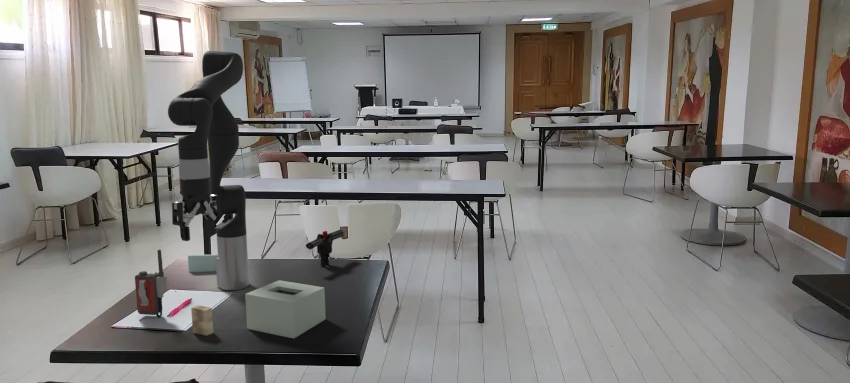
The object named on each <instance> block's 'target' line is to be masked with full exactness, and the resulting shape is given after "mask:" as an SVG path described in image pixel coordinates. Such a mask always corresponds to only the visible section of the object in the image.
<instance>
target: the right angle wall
mask: <svg viewBox="0 0 850 383" xmlns="http://www.w3.org/2000/svg"><path fill="white" fill-rule="evenodd" d="M216 258H218V254H188V255H187V261H188V262H187V263H188V264H187V265H188V273H201V272H203V273H204V272H216Z"/></svg>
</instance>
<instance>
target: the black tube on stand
mask: <svg viewBox="0 0 850 383" xmlns="http://www.w3.org/2000/svg"><path fill="white" fill-rule="evenodd" d="M342 237H344V232H343V231H342V230H341V229H338V230H336V231H332V232H330V233H328V231H327V230H325V231H322V233H317V236H316V239H314V240H312V241H310V242H308V243H306V244H305V248H306V249H308V250H312V249H315V248H316V253H317V254H319V259H320V267H321V268H326V266H329V265H330V260H329V259H330V254H331V253H332V252H333V242H334V241H335V240H337V239H339V238H342Z"/></svg>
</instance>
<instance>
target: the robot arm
mask: <svg viewBox="0 0 850 383" xmlns="http://www.w3.org/2000/svg"><path fill="white" fill-rule="evenodd" d="M201 62H202V64H201V65H202V66H201V68H202V78H200V79H198V80H197V81H196V82H195V83H194V84H193V85H192V87H191V88H190V90H187V91H184V92H182V93H181V94H178V95H177V96H175V97H174V98H173V99H172V100H171V101H170V103H169V105H168V108H167V116H168V119H169V120H170V121H171V123H173V124H174V125H176V126H179V127H188V126H189V127H190V126H191V127H193V126H194V127H195V130H194V132H193V133H190V134H186V135H183V136H180V137H179V138H178V140H177V144H178V145H177V147H178V175H179V176H178V177H179V178H178V179H179V193H180V194H181V196H182V200H181V201H173V202H172V203H171V210H172V213H171V214H172V215H171V217H172V218H171V219H172V220H171V221H172V222H171V224H172V225H173V226H177V227H179V233H180V239H181V241H183V242H189V241H191V233H190V230H191V229H190V223H191V221H192V220H193V219H194V218H195V217H196V216H199V215H203V216H204V218H205V219H206V220H205V226H206V227H205V228H206V234H207V235H214V234H216V245H217V246H216V247H217V255H218V258H216V271H215V272H216V284H217V285H216V286H217V287H218V288H219V289H222V290H224V291H236V290H242V289H245V288H247V287H248V286H249V285H250V279H249V278H250V276H249V258H248V256H249V255H248V239H247V238H248V236H247V221H246V219H247V218H246V203H247V202H246V201H247V200H246V196H247V195H246V189H245V188H244V186H243V185H242V184H229V185H221V183H222V182H221V181H222V179H223V176H224V174H225V171H226V169H227V168H228V166H229V164H230V163H231V162H232V160H233V158H234V157H235V155H236V154H237V152H238V150H239V146H240V132H239V124H238V122H237V119H236V118H235V116H234V115H233V113H232V112H231V110H230V109H229V108H228V107H227V105H226V103H225V101H224V100H223V98H222V95H223V94H224V93H225V92H227V91H228V90H230V89H232V88H233V87H234V86H235V85H237V84H238V83H239V82H240V80H241V79H242V77H243V74H244V62H243V58H242V56H241V55H240V54H239V53H236V52H233V51H221V50H220V51H217V50H207V51H205V52H204V54H203V56H202V61H201ZM222 215H234V216H233V217H232V218H231V219H230V220H229V221H226V222H224V223H221V224H219V225H218V226H217V227H216V219H217V218H218V217H219V218H220V217H221V216H222Z"/></svg>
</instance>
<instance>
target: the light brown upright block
mask: <svg viewBox="0 0 850 383" xmlns="http://www.w3.org/2000/svg"><path fill="white" fill-rule="evenodd" d="M190 309H191V322H192V323H191V324H192V333H193V334H196V335H200V336H201V335H202V336H206V337H207V336H209V335H212V334H214V322H213V321H214V320H213V308H212V307H211V306H205V305H200V304H197V305H195V306H192V307H191V308H190Z"/></svg>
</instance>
